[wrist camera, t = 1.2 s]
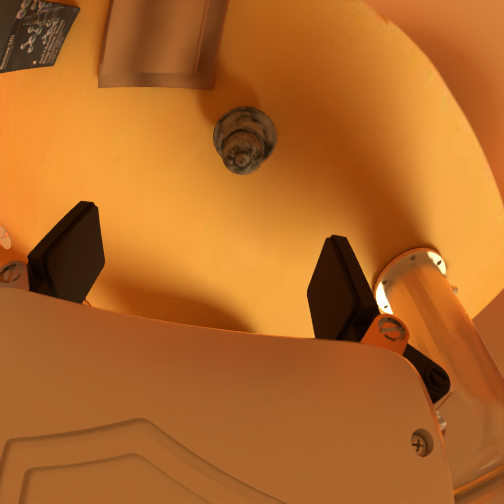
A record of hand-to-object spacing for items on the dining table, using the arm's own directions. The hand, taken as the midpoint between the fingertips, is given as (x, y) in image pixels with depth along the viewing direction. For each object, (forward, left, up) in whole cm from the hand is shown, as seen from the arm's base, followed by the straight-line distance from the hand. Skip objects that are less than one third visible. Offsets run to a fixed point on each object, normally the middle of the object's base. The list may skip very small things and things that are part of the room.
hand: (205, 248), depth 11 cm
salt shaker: (-1, -1, -21) cm, 21 cm away
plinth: (+9, -11, -21) cm, 25 cm away
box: (+24, -13, -21) cm, 34 cm away
